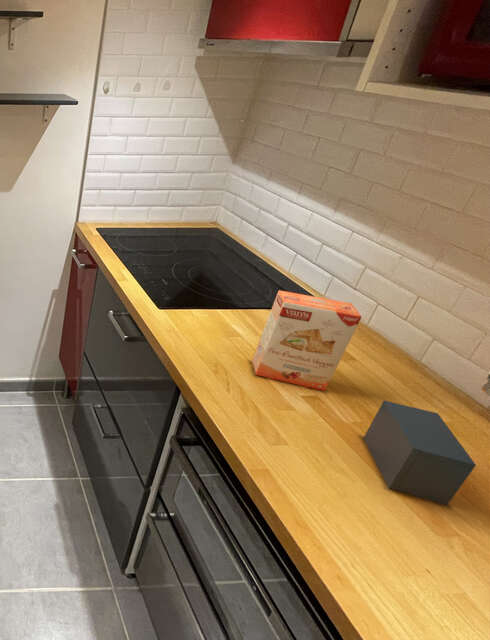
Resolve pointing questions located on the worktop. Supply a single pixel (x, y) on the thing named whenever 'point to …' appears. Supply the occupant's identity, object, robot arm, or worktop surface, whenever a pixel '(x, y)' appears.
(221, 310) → the worktop surface
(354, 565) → the worktop surface
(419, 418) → the grey open box
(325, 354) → the cracker box
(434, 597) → the worktop surface
